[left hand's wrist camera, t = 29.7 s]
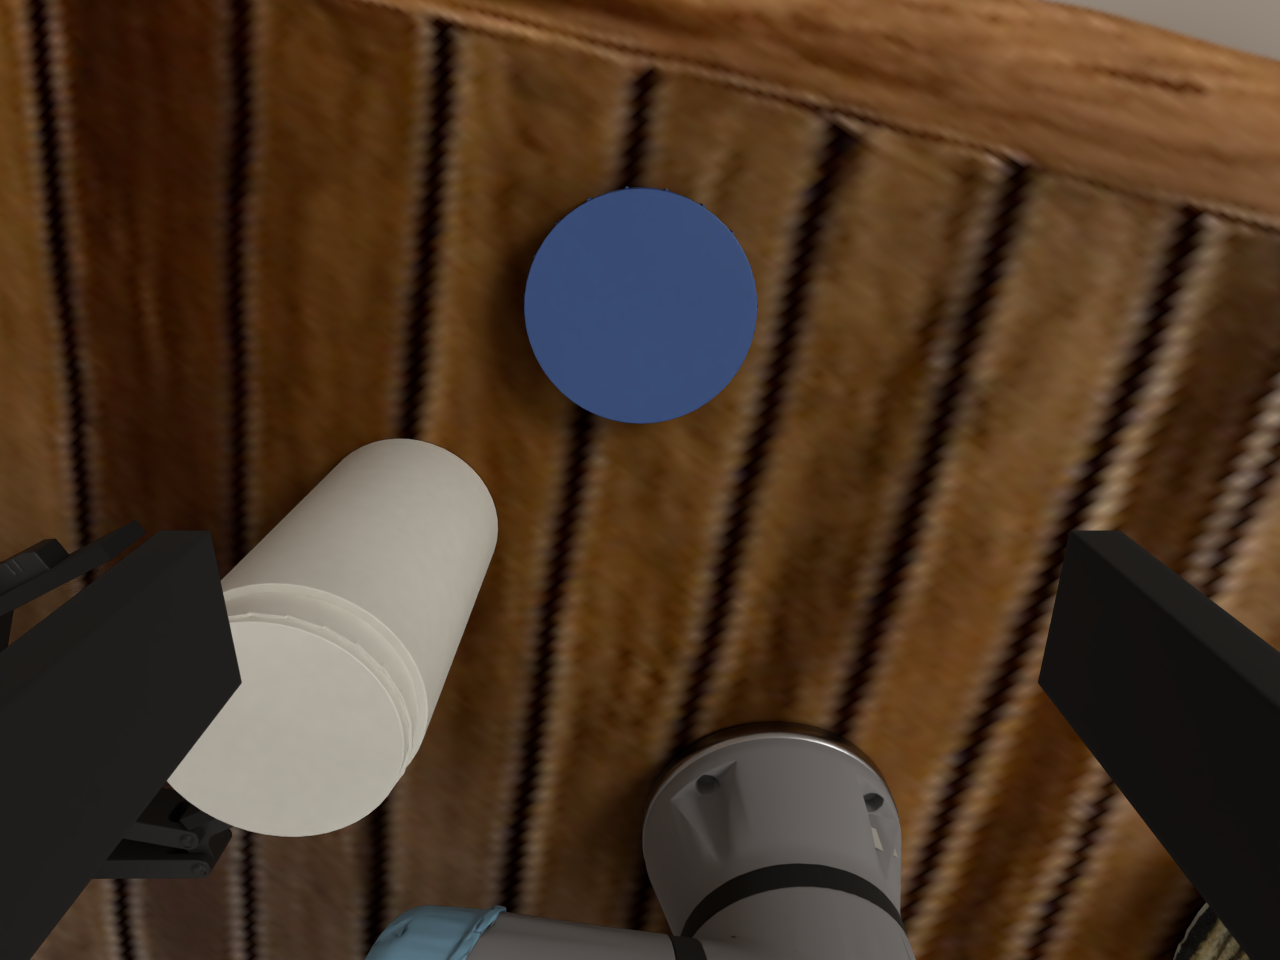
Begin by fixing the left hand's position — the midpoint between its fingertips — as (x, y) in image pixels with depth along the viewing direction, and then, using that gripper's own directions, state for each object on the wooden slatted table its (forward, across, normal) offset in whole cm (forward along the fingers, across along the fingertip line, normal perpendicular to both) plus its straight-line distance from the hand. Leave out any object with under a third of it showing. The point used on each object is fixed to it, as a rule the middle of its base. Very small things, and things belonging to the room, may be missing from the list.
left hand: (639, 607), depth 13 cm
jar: (+28, +12, +11) cm, 32 cm away
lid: (+26, 0, 0) cm, 26 cm away
